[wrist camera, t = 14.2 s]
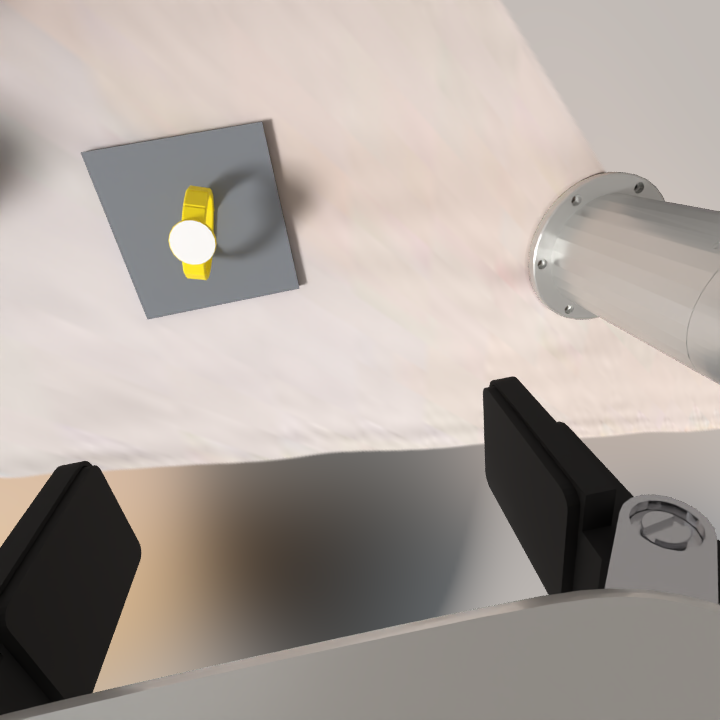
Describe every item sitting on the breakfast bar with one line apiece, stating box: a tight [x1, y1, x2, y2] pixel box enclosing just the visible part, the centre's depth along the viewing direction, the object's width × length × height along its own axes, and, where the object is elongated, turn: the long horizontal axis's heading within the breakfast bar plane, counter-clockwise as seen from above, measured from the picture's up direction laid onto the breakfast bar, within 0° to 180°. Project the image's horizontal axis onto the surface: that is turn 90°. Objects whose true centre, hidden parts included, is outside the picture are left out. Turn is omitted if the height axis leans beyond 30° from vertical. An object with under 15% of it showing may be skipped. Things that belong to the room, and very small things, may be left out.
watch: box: [169, 185, 217, 280], centre depth 31 cm, size 6×3×6 cm, turn 171°
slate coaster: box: [81, 122, 299, 319], centre depth 34 cm, size 12×12×1 cm
